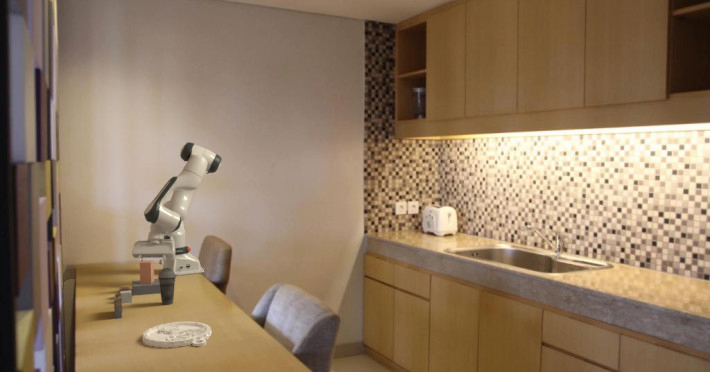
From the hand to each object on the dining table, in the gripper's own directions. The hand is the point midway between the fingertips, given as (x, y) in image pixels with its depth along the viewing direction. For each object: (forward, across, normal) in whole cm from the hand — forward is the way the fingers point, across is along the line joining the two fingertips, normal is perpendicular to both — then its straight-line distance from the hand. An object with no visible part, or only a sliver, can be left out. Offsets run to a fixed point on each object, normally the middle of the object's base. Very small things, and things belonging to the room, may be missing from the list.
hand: (151, 263), depth 275 cm
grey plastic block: (+27, -3, -11) cm, 29 cm away
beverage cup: (+30, +16, -14) cm, 36 cm away
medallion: (+63, +33, -46) cm, 84 cm away
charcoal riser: (+13, 0, +3) cm, 14 cm away
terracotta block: (+10, 0, 0) cm, 11 cm away
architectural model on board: (+41, +1, -24) cm, 48 cm away
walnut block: (+22, -6, -6) cm, 24 cm away
